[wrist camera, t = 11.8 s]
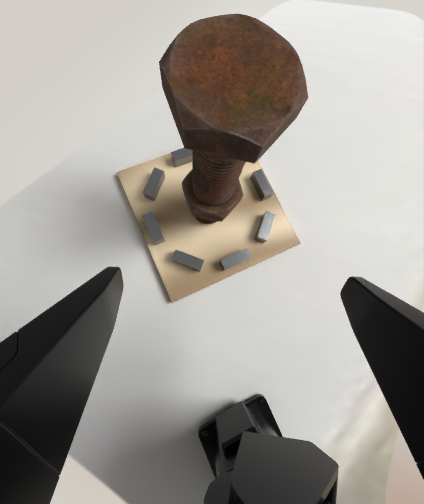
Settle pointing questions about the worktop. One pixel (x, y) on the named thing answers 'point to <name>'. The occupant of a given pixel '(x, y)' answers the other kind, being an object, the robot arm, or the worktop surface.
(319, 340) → the worktop surface
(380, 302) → the robot arm
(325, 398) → the worktop surface
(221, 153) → the bolt
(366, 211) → the worktop surface
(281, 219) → the tan flat square board
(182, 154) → the castellated ring
